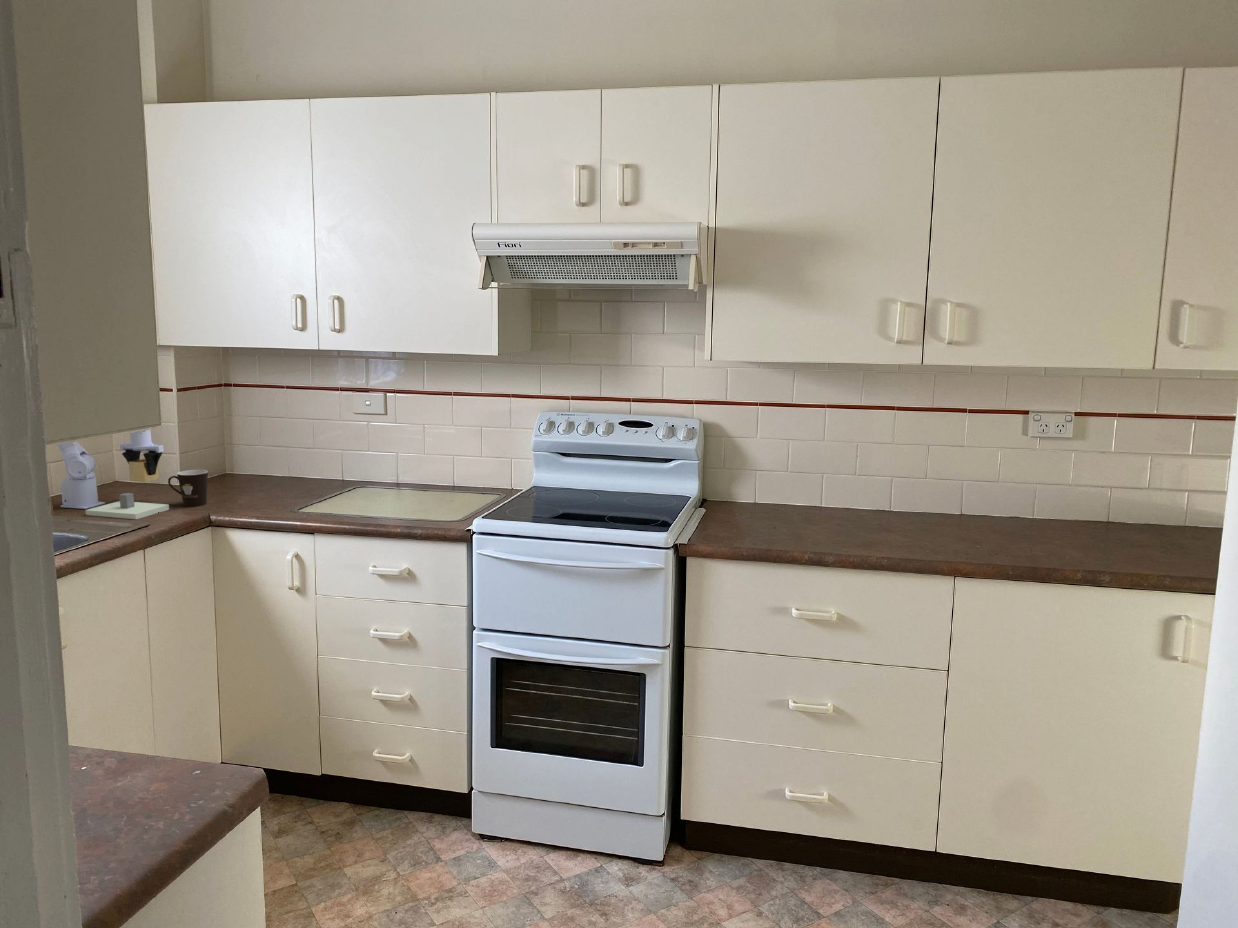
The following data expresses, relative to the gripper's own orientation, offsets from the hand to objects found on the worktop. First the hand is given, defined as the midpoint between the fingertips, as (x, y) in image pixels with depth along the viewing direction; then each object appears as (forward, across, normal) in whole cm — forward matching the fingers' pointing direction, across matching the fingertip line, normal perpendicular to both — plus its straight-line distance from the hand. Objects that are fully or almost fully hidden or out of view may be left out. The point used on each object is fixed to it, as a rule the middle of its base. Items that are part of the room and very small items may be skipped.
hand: (144, 474), depth 291 cm
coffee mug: (+9, -15, -2) cm, 18 cm away
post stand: (+9, -5, +13) cm, 16 cm away
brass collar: (+2, 0, 0) cm, 2 cm away
